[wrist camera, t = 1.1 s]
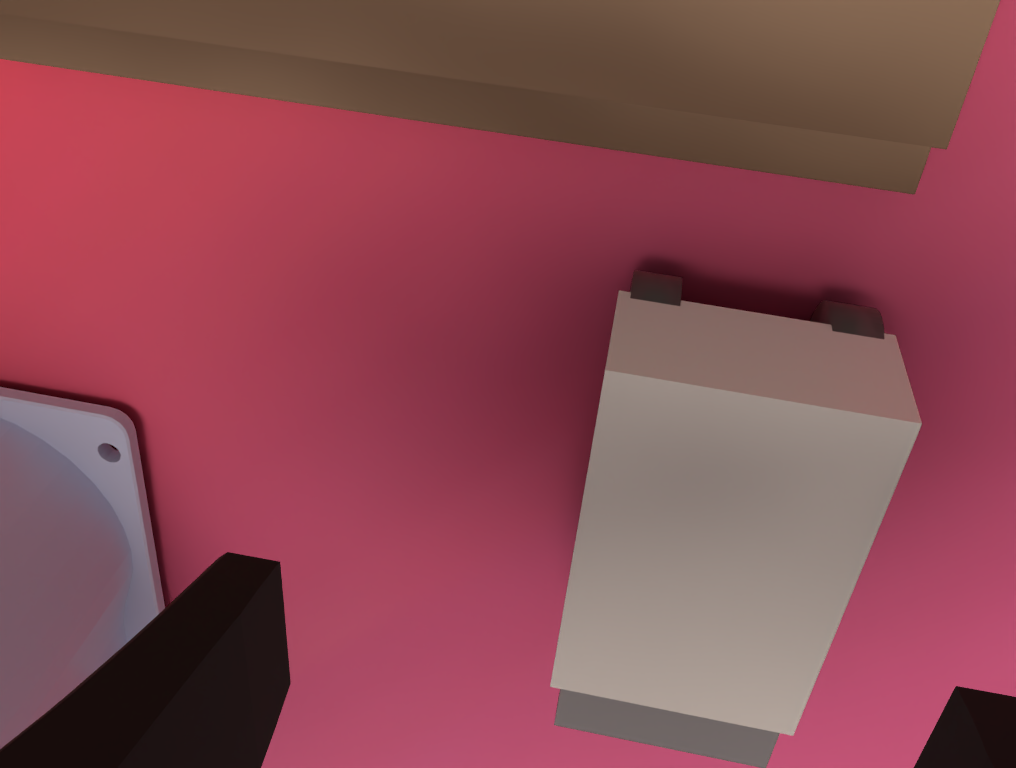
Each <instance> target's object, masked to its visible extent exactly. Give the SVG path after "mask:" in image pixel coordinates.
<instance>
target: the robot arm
mask: <svg viewBox="0 0 1016 768" xmlns="http://www.w3.org/2000/svg"><path fill="white" fill-rule="evenodd" d="M109 444H110V445H113V446H114V447H116V448H117V449H118V450H119V451H117V450H115V449H113V448H112V447H111V446H110V445H109ZM289 686H290V672H289V660H288V648H287V637H286V625H285V613H284V602H283V590H282V579H281V567H280V562H278V561H273V560H267V559H262V558H256V557H251V556H245V555H240V554H234V553H229V552H227V553H226V554H224V555H222V556H221V557H219V558H218V559H217V560H216V561H215V562H214V563H213V564H212V565H211V566H210V567H209V568H207V569H206V570H205V571H204V572H203V573H202V574H201V575H200V576H199V577H198V578H197V579H196V580H195V581H194V582H193V583H191V584H190V585H189V586H188V587H187V588H186V589H185V590H184V591H183V592H182V593H181V594H180V595H179V596H178V597H177V598H176V599H174V600H173V601H172V602H171V603H170V604H169V605H168V606H167V607H166V608H165V605H164V599H163V593H162V587H161V581H160V574H159V568H158V562H157V556H156V550H155V544H154V538H153V532H152V526H151V520H150V514H149V508H148V502H147V495H146V489H145V483H144V477H143V471H142V465H141V459H140V453H139V447H138V441H137V435H136V429H135V426H134V424H133V422H132V420H131V419H130V418H129V417H128V416H127V415H126V414H125V413H123V412H122V411H120V410H118V409H115V408H112V407H108V406H103V405H97V404H92V403H86V402H81V401H75V400H70V399H64V398H59V397H53V396H48V395H42V394H37V393H31V392H26V391H20V390H15V389H9V388H4V387H0V768H261V766H262V763H263V760H264V758H265V755H266V752H267V749H268V747H269V744H270V741H271V738H272V736H273V733H274V730H275V727H276V724H277V721H278V718H279V715H280V712H281V709H282V707H283V704H284V701H285V698H286V695H287V692H288V689H289ZM914 768H1016V697H1012V696H1007V695H1002V694H996V693H991V692H985V691H980V690H974V689H969V688H963V687H958V686H956V687H955V689H954V691H953V693H952V695H951V697H950V699H949V701H948V702H947V704H946V706H945V708H944V710H943V712H942V714H941V716H940V718H939V720H938V722H937V724H936V726H935V728H934V730H933V732H932V734H931V735H930V737H929V739H928V741H927V743H926V745H925V747H924V749H923V751H922V753H921V755H920V757H919V759H918V761H917V763H916V765H915V767H914Z"/></svg>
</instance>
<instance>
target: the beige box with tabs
mask: <svg viewBox="0 0 1016 768" xmlns="http://www.w3.org/2000/svg"><path fill="white" fill-rule="evenodd" d="M681 294H682V277H677V276H670V275H664V274H658V273H652V272H645V271H639V270H634V273H633V278H632V283H631V288H630V292H626V291H620V290H619V292H618V298H617V304H616V309H615V315H614V321H613V327H612V332H611V338H610V344H609V350H608V356H607V361H606V367H605V373H604V379H603V384H602V390H601V396H600V402H599V407H598V413H597V419H596V425H595V430H594V436H593V442H592V448H591V453H590V459H589V465H588V471H587V476H586V482H585V488H584V494H583V499H582V505H581V511H580V517H579V522H578V528H577V534H576V540H575V545H574V551H573V557H572V563H571V568H570V574H569V580H568V586H567V591H566V597H565V603H564V609H563V615H562V620H561V626H560V632H559V638H558V644H557V650H556V655H555V661H554V667H553V673H552V679H551V684H550V687H554V688H559V689H560V693H559V698H558V704H557V710H556V717H555V723H554V725H556V726H561V727H566V728H571V729H576V730H581V731H586V732H591V733H595V734H600V735H605V736H610V737H615V738H620V739H625V740H629V741H634V742H639V743H644V744H649V745H654V746H659V747H663V748H668V749H673V750H678V751H683V752H688V753H693V754H698V755H702V756H707V757H712V758H717V759H722V760H727V761H732V762H736V763H741V764H746V765H751V766H756V767H761V768H766V766H767V764H768V761H769V759H770V756H771V754H772V751H773V749H774V746H775V744H776V741H777V739H778V736H779V734H780V733H782V734H787V735H792V736H793V735H794V732H795V730H796V728H797V725H798V723H799V720H800V718H801V715H802V713H803V711H804V708H805V706H806V703H807V701H808V698H809V696H810V694H811V691H812V689H813V686H814V684H815V682H816V679H817V677H818V674H819V672H820V669H821V667H822V665H823V662H824V660H825V657H826V655H827V653H828V650H829V648H830V645H831V643H832V640H833V638H834V636H835V633H836V631H837V628H838V626H839V624H840V621H841V619H842V616H843V614H844V611H845V609H846V607H847V604H848V602H849V599H850V597H851V594H852V592H853V590H854V587H855V585H856V582H857V580H858V578H859V575H860V573H861V570H862V568H863V565H864V563H865V561H866V558H867V556H868V553H869V551H870V549H871V546H872V544H873V541H874V539H875V536H876V534H877V532H878V529H879V527H880V524H881V522H882V520H883V517H884V515H885V512H886V510H887V507H888V505H889V503H890V500H891V498H892V495H893V493H894V491H895V488H896V486H897V483H898V481H899V478H900V476H901V474H902V471H903V469H904V466H905V464H906V462H907V459H908V457H909V454H910V452H911V449H912V447H913V445H914V442H915V440H916V437H917V435H918V432H919V430H920V428H921V425H922V422H921V419H920V415H919V412H918V409H917V405H916V402H915V399H914V395H913V392H912V388H911V385H910V382H909V378H908V375H907V372H906V368H905V365H904V362H903V358H902V355H901V352H900V348H899V345H898V342H897V338H896V335H892V334H885V333H884V326H883V321H882V317H881V314H880V312H879V311H878V310H877V309H876V308H871V307H865V306H858V305H852V304H846V303H839V302H833V301H827V300H824V301H822V302H820V303H819V305H818V306H817V308H816V309H815V311H814V313H813V315H812V317H811V320H810V321H805V320H799V319H793V318H787V317H780V316H774V315H768V314H762V313H756V312H750V311H743V310H737V309H731V308H725V307H719V306H713V305H706V304H700V303H694V302H688V301H682V300H681Z"/></svg>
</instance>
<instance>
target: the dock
mask: <svg viewBox="0 0 1016 768" xmlns="http://www.w3.org/2000/svg"><path fill="white" fill-rule="evenodd" d="M999 2H1000V0H0V59H6V60H12V61H19V62H26V63H32V64H39V65H46V66H53V67H59V68H66V69H73V70H80V71H86V72H93V73H100V74H107V75H113V76H120V77H127V78H134V79H140V80H147V81H154V82H160V83H167V84H174V85H181V86H187V87H194V88H201V89H208V90H214V91H221V92H228V93H235V94H241V95H248V96H255V97H262V98H268V99H275V100H282V101H289V102H295V103H302V104H309V105H315V106H322V107H329V108H336V109H342V110H349V111H356V112H363V113H369V114H376V115H383V116H390V117H396V118H403V119H410V120H417V121H423V122H430V123H437V124H444V125H450V126H457V127H464V128H470V129H477V130H484V131H491V132H497V133H504V134H511V135H518V136H524V137H531V138H538V139H545V140H551V141H558V142H565V143H572V144H578V145H585V146H592V147H598V148H605V149H612V150H619V151H625V152H632V153H639V154H646V155H652V156H659V157H666V158H673V159H679V160H686V161H693V162H700V163H706V164H713V165H720V166H727V167H733V168H740V169H747V170H753V171H760V172H767V173H774V174H780V175H787V176H794V177H801V178H807V179H814V180H821V181H828V182H834V183H841V184H848V185H855V186H861V187H868V188H875V189H882V190H888V191H895V192H902V193H908V194H915V192H916V189H917V187H918V184H919V181H920V178H921V175H922V172H923V169H924V167H925V164H926V161H927V158H928V155H929V152H930V149H931V147H934V148H941V149H947V147H948V144H949V141H950V139H951V136H952V133H953V130H954V128H955V125H956V122H957V119H958V116H959V114H960V111H961V108H962V105H963V102H964V100H965V97H966V94H967V91H968V89H969V86H970V83H971V80H972V77H973V75H974V72H975V69H976V66H977V63H978V61H979V58H980V55H981V52H982V50H983V47H984V44H985V41H986V38H987V36H988V33H989V30H990V27H991V24H992V22H993V19H994V16H995V13H996V11H997V8H998V5H999Z"/></svg>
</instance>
